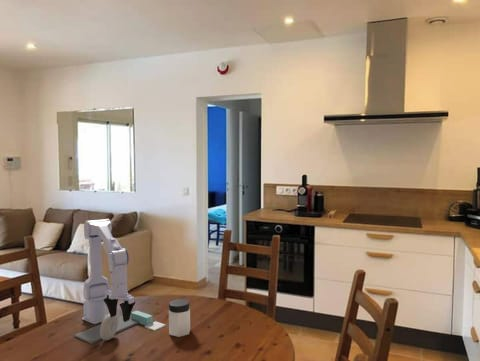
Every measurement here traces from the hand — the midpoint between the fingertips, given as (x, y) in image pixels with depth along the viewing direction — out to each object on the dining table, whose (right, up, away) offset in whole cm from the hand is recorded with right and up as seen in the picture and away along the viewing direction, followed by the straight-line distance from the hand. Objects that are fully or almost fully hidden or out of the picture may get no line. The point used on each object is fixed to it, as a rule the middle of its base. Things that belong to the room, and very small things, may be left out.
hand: (119, 318), depth 146 cm
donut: (-6, -10, +5) cm, 12 cm away
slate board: (-9, -9, +13) cm, 18 cm away
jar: (+21, -9, +11) cm, 25 cm away
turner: (+6, -9, +19) cm, 21 cm away
